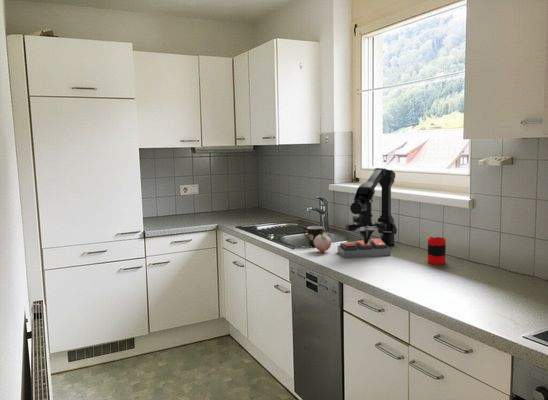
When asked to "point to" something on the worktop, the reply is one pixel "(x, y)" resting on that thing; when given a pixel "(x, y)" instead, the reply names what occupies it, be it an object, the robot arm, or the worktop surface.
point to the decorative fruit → (322, 242)
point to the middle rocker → (362, 243)
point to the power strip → (363, 250)
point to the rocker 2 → (377, 241)
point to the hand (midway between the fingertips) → (365, 244)
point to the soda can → (436, 249)
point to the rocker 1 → (348, 244)
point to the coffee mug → (313, 233)
